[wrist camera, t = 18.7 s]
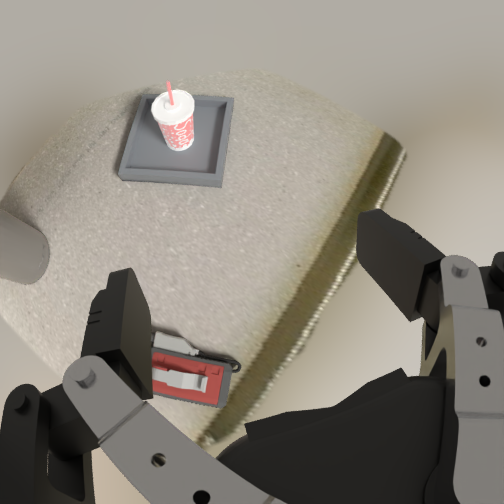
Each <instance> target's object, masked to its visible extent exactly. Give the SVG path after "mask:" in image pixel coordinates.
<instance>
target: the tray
mask: <svg viewBox="0 0 504 504" xmlns="http://www.w3.org/2000/svg"><path fill="white" fill-rule="evenodd" d="M159 95H161V94H143V95H142V98H141V101H140V104H139V106H138V109H137V112H136V115H135V118H134V121H133V124H132V127H131V130H130V134H129V137H128V140H127V143H126V147H125V150H124V154H123V157H122V161H121V164H120V168H119V172H118V175H119V176H120V178H121V179H122V181H137V182H154V183H169V184H183V185H195V186H207V187H218V188H222V181H223V174H224V167H225V159H226V152H227V145H228V139H229V132H230V125H231V119H232V112H233V104H234V98H229V97H216V96H200V95H192V97H193V99H194V111H193V127H194V141H193V143H192V145H191V146H190V147H189V148H187V149H185V150H182V151H175V150H172V149H170V148H169V147H168V146H167V143H166V141H165V138H164V136H163V134H162V131H161V129H160V126H159V124H158V122H157V121H156V120H155V119H154V116H153V114H152V111H151V108H152V103H153V102H154V100H155V99H156V98H157V97H158V96H159Z"/></svg>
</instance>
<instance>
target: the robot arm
mask: <svg viewBox="0 0 504 504" xmlns="http://www.w3.org/2000/svg"><path fill="white" fill-rule="evenodd" d="M356 253H357V257H358V260H359V262H360V264H361V266H362V267H363V268H364V269H365V270H366V271H367V272H368V273H369V275H370V276H371V277H372V278H373V279H374V280H375V281H376V283H377V284H378V285H379V286H380V287H381V288H382V289H383V290H384V292H385V293H386V294H387V295H388V296H389V298H390V299H391V300H392V301H393V302H394V303H395V305H396V306H397V307H398V308H399V309H400V311H401V312H402V313H403V314H404V315H405V317H406V318H407V319H408V320H409V321H410V322H411V321H414V320H416V319H418V318H420V317H423V318H424V323H423V327H422V351H421V367H420V373H419V376H411V377H407V375H406V374H405V372H404V371H403V369H402V368H399V369H397V370H395V371H393V372H391V373H388V374H386V375H384V376H382V377H379V378H377V379H375V380H373V381H370V382H368V383H366V384H365V385H364V386H362V387H361V388H360V389H358V390H357V391H356V392H354V393H353V394H351V395H350V396H348V397H347V398H346V399H344V400H343V401H341V402H340V403H338V404H337V405H335V406H333V407H328V408H321V409H313V410H302V411H291V412H285V413H281V414H278V415H275V416H271V417H268V418H264V419H260V420H257V421H253V422H249V423H245V424H244V425H245V428H246V432H247V435H245V436H243V437H241V438H239V439H238V440H236V441H235V442H233V443H232V444H230V445H229V446H228V447H227V448H225V449H224V450H223V451H222V452H221V453H220V454H219V455H218V456H217V457H216V458H214V457H212V456H211V455H210V454H208V453H207V452H206V451H205V450H203V449H202V448H201V447H199V446H198V445H197V444H196V443H194V442H193V441H192V440H191V439H189V438H188V437H187V436H186V435H185V434H183V433H182V432H181V431H180V430H179V429H177V428H176V427H175V426H174V425H173V424H172V423H170V422H169V421H168V420H167V419H166V418H165V417H164V416H163V415H161V414H160V413H159V412H158V411H157V410H156V409H155V408H154V407H153V406H152V405H150V404H149V403H148V402H147V401H145V402H144V401H142V400H147V399H153V382H152V354H151V315H150V310H149V307H148V304H147V301H146V299H145V297H144V294H143V292H142V290H141V287H140V285H139V283H138V280H137V278H136V275H135V273H134V271H133V269H132V268H127V269H123V270H119V271H115V272H111V273H110V274H109V278H108V282H107V287H106V289H104V290H100V291H99V292H98V294H97V295H96V296H95V298H94V299H93V301H92V303H91V307H90V312H89V314H90V315H89V316H88V321H87V324H88V325H87V326H86V330H85V335H84V341H83V346H82V351H81V357H80V358H79V359H77V360H76V361H74V362H73V363H72V364H71V365H70V366H69V367H68V368H67V370H66V372H65V374H64V376H63V383H62V384H60V385H58V386H56V387H53V388H51V389H49V390H47V391H45V392H43V393H41V392H40V391H39V390H38V389H37V388H36V387H35V386H33V385H31V384H23V385H20V386H18V387H16V388H15V389H14V390H13V391H12V392H11V393H10V394H9V396H8V398H7V399H6V402H5V405H4V410H3V416H2V422H1V429H0V504H95V496H94V486H93V473H92V456H91V451H92V450H94V449H96V448H99V447H101V449H102V450H103V451H104V452H105V453H106V455H107V456H108V457H109V459H110V460H111V461H112V462H113V463H114V465H115V466H116V467H117V468H118V469H119V470H120V472H121V473H122V474H123V475H124V476H125V477H126V478H127V479H128V481H129V482H130V483H131V484H132V485H133V486H134V487H135V488H136V489H137V490H138V491H139V492H140V493H141V494H142V495H143V496H144V497H145V498H146V499H147V500H148V501H149V502H150V503H151V504H504V252H498V253H496V254H495V256H494V258H493V261H492V265H491V266H485V267H478V266H477V265H476V264H475V263H474V262H473V261H471V260H469V259H468V258H466V257H463V256H458V255H451V256H447V257H446V256H445V255H444V254H443V253H442V252H440V251H439V250H438V249H437V248H436V247H434V246H433V245H432V244H431V243H429V242H428V241H427V240H426V239H425V238H422V236H421V235H420V234H418V233H417V232H415V230H413V229H412V228H411V227H410V226H408V225H407V224H406V223H403V222H401V221H398V220H396V219H393V218H391V217H390V216H389V215H388V214H386V213H385V212H384V211H382V210H381V209H374V210H369V211H365V212H361V213H360V214H359V216H358V224H357V245H356ZM49 255H50V251H49V244H48V241H47V239H46V237H45V236H44V235H43V234H42V233H41V232H40V231H38V230H36V229H34V228H33V227H31V226H29V225H28V224H26V223H24V222H23V221H21V220H19V219H18V218H16V217H14V216H13V215H11V214H10V213H8V212H6V211H5V210H3V209H1V208H0V278H3V279H7V280H10V281H14V282H17V283H21V284H25V285H26V284H32V283H34V282H36V281H37V280H39V279H40V278H41V277H42V275H43V274H44V272H45V270H46V268H47V266H48V262H49ZM47 465H48V473H47Z"/></svg>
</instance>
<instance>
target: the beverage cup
mask: <svg viewBox="0 0 504 504" xmlns="http://www.w3.org/2000/svg"><path fill="white" fill-rule="evenodd" d="M166 85H167V90H168V91H167V92H164V93H162V94H161V95H159V96H158V97H157V98H156V99H155V100H154V102H153V103H152V108H151V111H152V114H153V116H154V119H155V120H156V121H157V122H158V124H159V126H160V129H161V131H162V134H163V136H164V138H165V141H166V143H167V146H168V147H169V148H170V149H172V150H175V151H182V150H185V149H187V148H189V147H190V146H191V145H192V143H193V141H194V127H193V111H194V99H193V97H192V95H190V94H189V93H187V92H186V91H182V90H171V86H170V81H169V80H167V81H166Z"/></svg>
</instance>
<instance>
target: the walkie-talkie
mask: <svg viewBox="0 0 504 504" xmlns="http://www.w3.org/2000/svg"><path fill="white" fill-rule="evenodd" d="M151 343H154V345H153V347H152V348H151V354H152V382H153V394H154V395H159V396H163V397H166V398H171V399H175V400H177V399H178V400H180V401H181V400H182V401H184V402H185V401H187V402H191V403H195V404H199V405H203V406H205V405H206V406H211V407H216V408H222V407H224V406H226V402H227V397H228V391H229V386H230V380H231V375H232V373H236V372H239V371H240V369H241V364H240V363H239V362H237V361H235V360H229V359H223V358H218V357H213V356H209V355H205V354H204V353H203V352H201V351H199V349H194V348H193V347H192V346H191V344H190V343H189V342H188V341H187V340H186V339H185V338H181V337H177V336H172V335H168V334H164V332H160V331H156V334H153V333H151ZM196 354H197V355H198V354H200V355H202V356H203V357H202V356H200V357H199V356H195V355H196ZM230 363H234V364H237V365H238V369H236V370H232V366H231V364H230Z"/></svg>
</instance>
